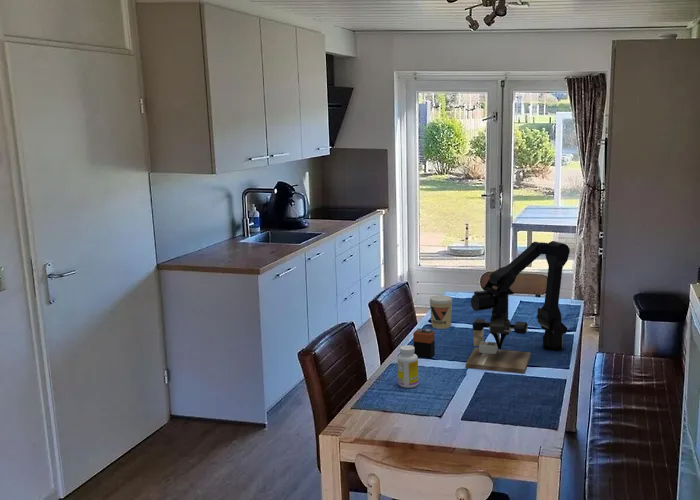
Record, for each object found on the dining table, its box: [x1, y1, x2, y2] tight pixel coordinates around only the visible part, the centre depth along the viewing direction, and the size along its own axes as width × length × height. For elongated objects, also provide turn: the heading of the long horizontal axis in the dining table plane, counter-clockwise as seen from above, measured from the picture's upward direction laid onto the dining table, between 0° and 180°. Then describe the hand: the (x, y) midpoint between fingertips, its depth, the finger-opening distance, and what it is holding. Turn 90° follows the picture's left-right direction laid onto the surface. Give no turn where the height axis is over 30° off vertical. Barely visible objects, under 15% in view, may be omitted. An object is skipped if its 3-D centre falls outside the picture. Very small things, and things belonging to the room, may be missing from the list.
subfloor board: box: [465, 347, 532, 374], centre depth 248 cm, size 20×17×2 cm
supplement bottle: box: [397, 344, 419, 389], centre depth 230 cm, size 7×7×13 cm
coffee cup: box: [429, 294, 453, 330], centre depth 289 cm, size 9×9×12 cm
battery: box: [412, 327, 436, 359], centre depth 257 cm, size 4×7×10 cm, turn 61°
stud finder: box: [478, 341, 499, 354], centre depth 254 cm, size 6×4×3 cm, turn 69°
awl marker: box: [473, 327, 485, 347], centre depth 266 cm, size 3×3×9 cm
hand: (499, 349), depth 252 cm, fingers closed
